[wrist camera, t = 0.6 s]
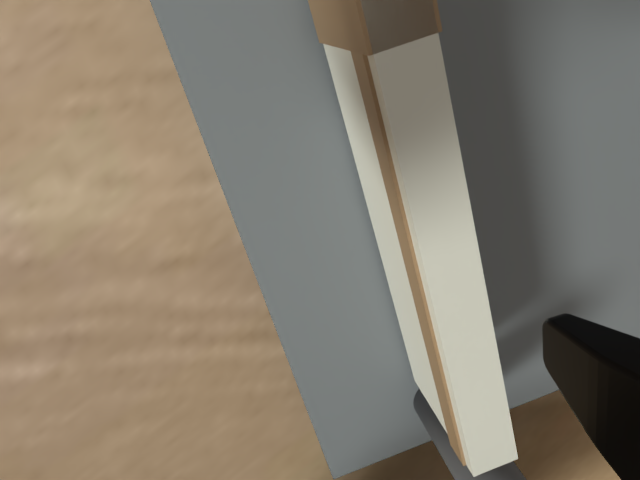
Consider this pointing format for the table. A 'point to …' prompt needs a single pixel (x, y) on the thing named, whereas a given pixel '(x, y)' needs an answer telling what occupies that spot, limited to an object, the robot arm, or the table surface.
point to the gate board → (482, 182)
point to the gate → (421, 212)
